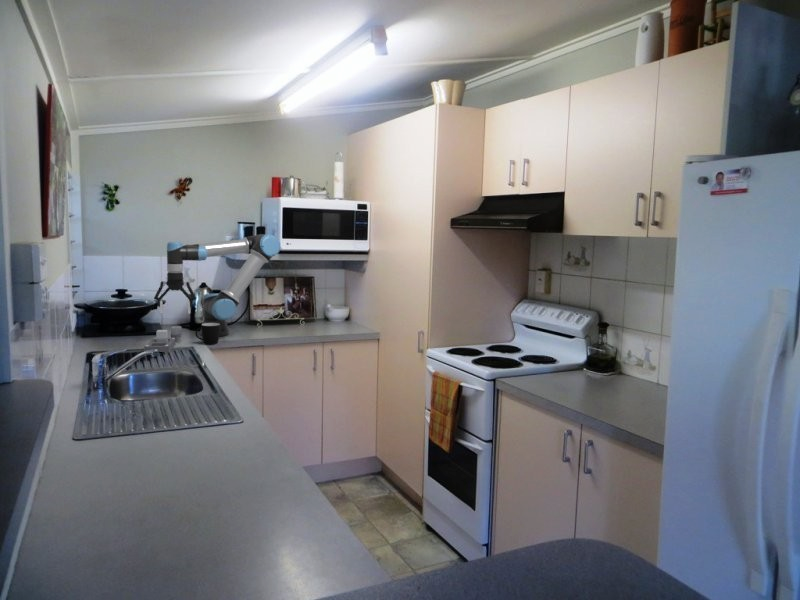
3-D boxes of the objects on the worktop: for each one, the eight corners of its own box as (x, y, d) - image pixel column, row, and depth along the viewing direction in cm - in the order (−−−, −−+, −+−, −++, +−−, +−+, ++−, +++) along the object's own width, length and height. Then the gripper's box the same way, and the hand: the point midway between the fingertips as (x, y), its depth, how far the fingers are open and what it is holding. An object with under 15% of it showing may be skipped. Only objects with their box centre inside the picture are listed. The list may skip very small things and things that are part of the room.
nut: (182, 341, 309) (181, 326, 308) (180, 343, 305) (180, 327, 304) (172, 341, 308) (172, 326, 307) (170, 343, 304) (170, 327, 303)
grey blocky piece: (175, 344, 301) (175, 328, 300) (168, 352, 281) (168, 336, 280) (152, 344, 299) (152, 329, 298) (144, 353, 279) (143, 336, 278)
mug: (221, 342, 310) (221, 322, 309) (218, 345, 301) (218, 325, 300) (197, 341, 309) (197, 322, 307) (193, 345, 300) (193, 325, 299)
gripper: (201, 272, 308) (201, 312, 311) (150, 271, 303) (151, 312, 306) (199, 273, 301) (199, 314, 304) (147, 272, 296) (148, 314, 298)
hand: (175, 313), depth 305 cm, fingers open, 13 cm apart
